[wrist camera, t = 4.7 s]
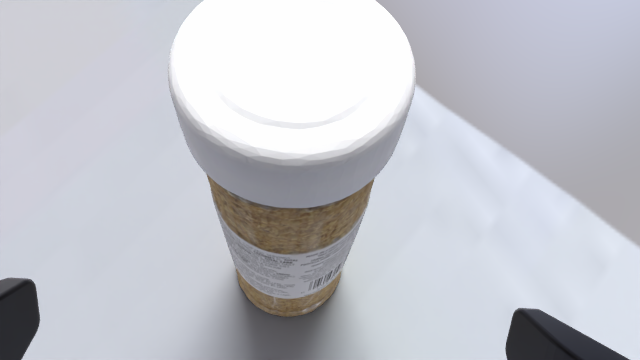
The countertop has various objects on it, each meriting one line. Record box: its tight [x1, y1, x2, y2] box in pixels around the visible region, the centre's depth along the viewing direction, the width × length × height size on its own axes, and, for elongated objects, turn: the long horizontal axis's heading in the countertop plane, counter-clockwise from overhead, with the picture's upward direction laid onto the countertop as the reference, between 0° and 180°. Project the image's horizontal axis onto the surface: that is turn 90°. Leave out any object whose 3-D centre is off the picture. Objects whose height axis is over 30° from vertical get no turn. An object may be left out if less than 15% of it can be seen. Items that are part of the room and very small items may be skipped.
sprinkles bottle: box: [168, 0, 415, 317], centre depth 14 cm, size 5×5×14 cm
